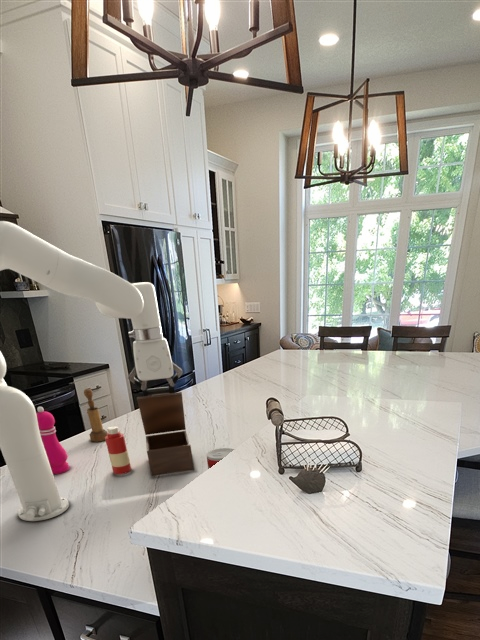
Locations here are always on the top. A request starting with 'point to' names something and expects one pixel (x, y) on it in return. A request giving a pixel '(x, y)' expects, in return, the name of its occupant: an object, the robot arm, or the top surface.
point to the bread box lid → (162, 411)
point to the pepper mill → (51, 442)
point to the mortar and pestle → (94, 419)
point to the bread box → (169, 453)
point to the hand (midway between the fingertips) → (160, 401)
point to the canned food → (217, 455)
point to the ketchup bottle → (117, 451)
